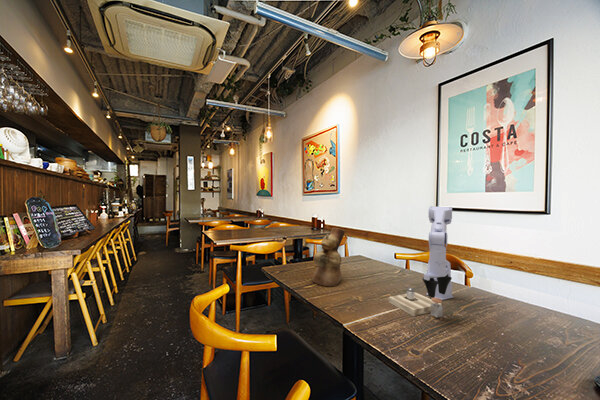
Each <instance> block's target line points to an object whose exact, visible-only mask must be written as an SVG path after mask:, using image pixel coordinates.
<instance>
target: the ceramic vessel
mask: <svg viewBox="0 0 600 400" xmlns="http://www.w3.org/2000/svg"><path fill="white" fill-rule="evenodd" d="M344 235H345V229H342V228H338V227H332V228H331V231H330V234H329V233H326V235H325V236H324V237H323V238H322V240H321V244H320V245H321V250H320V251H317V252H316V253H315V254H314V255H313V262H314V264H315V265H317V268H316V269H315V271H314V272H313V274H312V279H311V280H312V282H313V283H314V284H317V285H319V286H324V287H329V288H330V287H332V286H333V287H335V286H338V285H339V283H340V281H341V279H342V272H341V265H342V256H341V254H340V253H339V252H338V250H339V248H340V245H341V243H342V240H343V239H344Z"/></svg>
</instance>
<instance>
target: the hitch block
mask: <svg viewBox="0 0 600 400" xmlns="http://www.w3.org/2000/svg"><path fill="white" fill-rule="evenodd" d="M388 303H389V304H391V305H393V306H394V307H396V308H398V309H399V310H402V311H403V312H406V313H407V314H409V315H411V316H413V317H417V316H420V315H424V314H425V315H426V314H430V311H431V304H435V302H433V301H432V298H429V297H427V296H424V295H422V294H420V293H418V292H415V301H409V300H407V293H403V294H398V295H392V296H389V297H388ZM438 304H439V305H441V306H443V305H442V303H438Z"/></svg>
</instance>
